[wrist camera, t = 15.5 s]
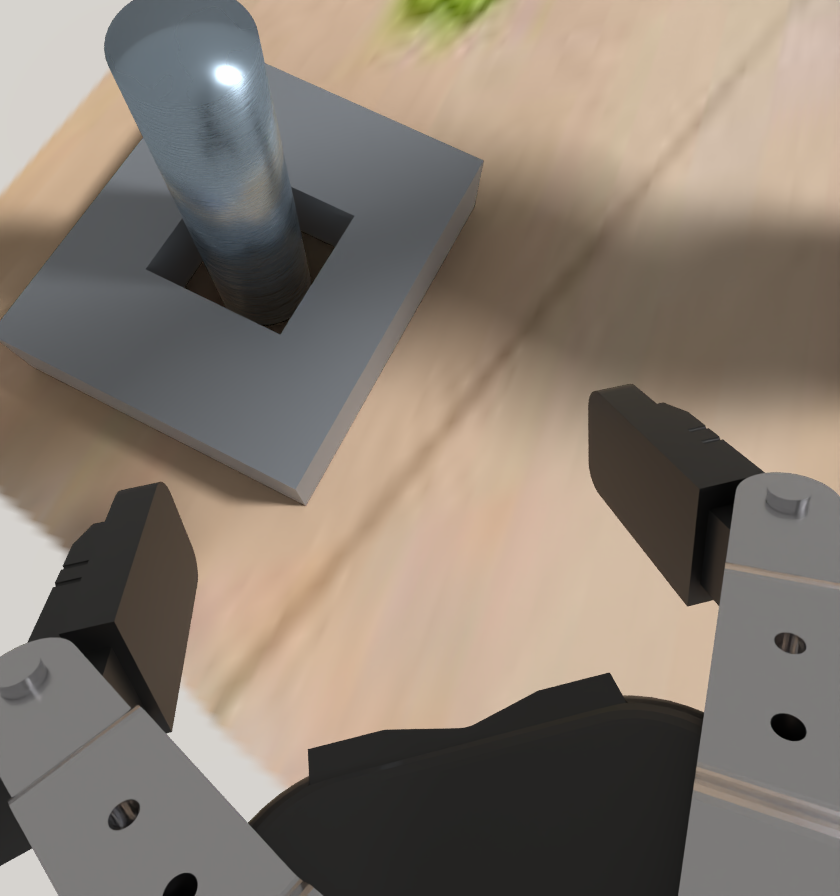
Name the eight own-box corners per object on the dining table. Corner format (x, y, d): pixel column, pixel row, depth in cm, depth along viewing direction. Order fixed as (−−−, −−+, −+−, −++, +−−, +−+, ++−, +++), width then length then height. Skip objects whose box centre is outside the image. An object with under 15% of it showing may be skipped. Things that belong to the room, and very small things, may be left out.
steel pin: (249, 231, 29) (158, -35, 18) (327, 267, 29) (286, 20, 17) (202, 301, 28) (73, 65, 17) (282, 339, 28) (207, 125, 16)
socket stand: (233, 96, 31) (217, 42, 28) (474, 206, 30) (483, 160, 27) (32, 366, 27) (-11, 334, 24) (305, 505, 26) (295, 489, 23)
